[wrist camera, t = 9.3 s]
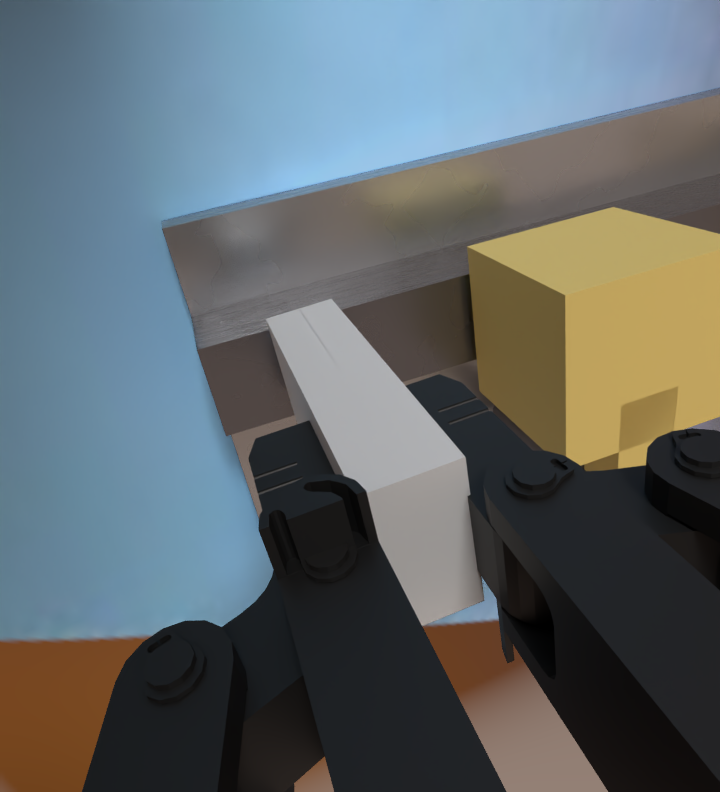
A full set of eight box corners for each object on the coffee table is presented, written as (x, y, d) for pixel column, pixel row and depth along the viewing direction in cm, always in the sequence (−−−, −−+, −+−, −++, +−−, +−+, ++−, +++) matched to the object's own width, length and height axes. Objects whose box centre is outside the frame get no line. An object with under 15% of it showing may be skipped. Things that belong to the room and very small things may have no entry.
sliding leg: (455, 462, 20) (566, 599, 15) (427, 227, 16) (565, 295, 11) (560, 427, 21) (703, 546, 16) (558, 192, 17) (747, 241, 12)
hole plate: (266, 535, 21) (319, 741, 14) (161, 221, 16) (168, 317, 9) (821, 346, 25) (1060, 437, 19) (889, 47, 20) (1259, 26, 13)
